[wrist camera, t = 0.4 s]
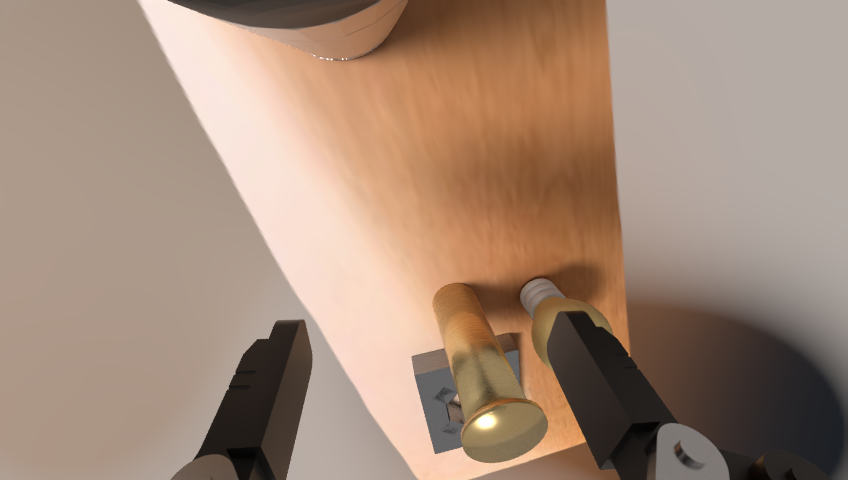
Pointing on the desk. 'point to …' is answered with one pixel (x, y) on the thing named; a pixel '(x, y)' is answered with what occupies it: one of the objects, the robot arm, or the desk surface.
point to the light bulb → (552, 312)
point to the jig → (448, 393)
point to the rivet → (485, 382)
